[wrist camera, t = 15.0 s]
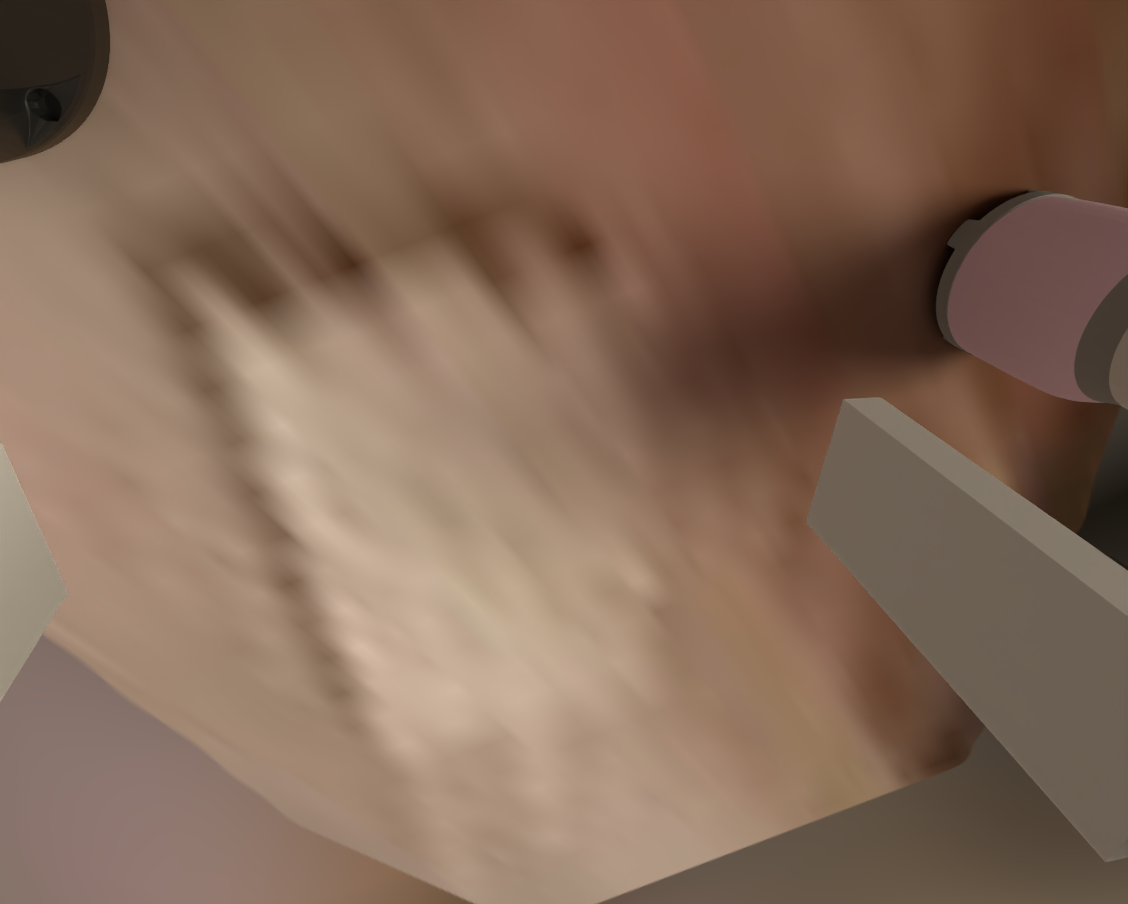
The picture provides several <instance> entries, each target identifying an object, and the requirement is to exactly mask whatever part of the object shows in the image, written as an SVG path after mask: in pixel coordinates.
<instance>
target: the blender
mask: <svg viewBox="0 0 1128 904" xmlns="http://www.w3.org/2000/svg"><path fill="white" fill-rule="evenodd" d="M947 245H948V246H950V247H952V248H954V249H955V250H954V252H953V254H952V256H951V257H950V259H949V261H948V263H947V265H946V267H945V270H944V272H943V274H942V277H941V280H940V283H939V287H938V292H937V297H936V316H937V321H938V325H939V328H940V330H941V332H942V334H943V335H944V336H943V338H944V339H945V340H946V341H948V342H949V343H951V344H952V345H954V346H955V347H957V348H959V349H961V350H963V351H965V352H967V353H969V354H971V355H974V356H976V357H978V358H980V359H981V360H983V361H985V362H987V363H989V364H991V365H993V366H994V367H996V368H998V369H1000V370H1002V371H1004V372H1006V373H1008V374H1010V375H1012V376H1014V377H1015V378H1017V379H1019V380H1021V381H1023V382H1025V383H1027V384H1029V385H1031V386H1033V387H1035V388H1037V389H1039V390H1042V391H1044V392H1046V393H1048V394H1051V395H1053V396H1057V397H1061V398H1065V399H1069V400H1074V401H1081V402H1106V403H1112V404H1117V405H1120V406H1123V407H1124V408H1126V409H1128V208H1123V207H1118V206H1113V205H1107V204H1102V203H1096V202H1091V201H1086V200H1080V199H1077V198H1075V197H1072V196H1069V195H1064V194H1059V193H1054V192H1048V191H1036V190H1030V191H1028V193H1026V194H1023V195H1020V196H1017V197H1015V198H1013V199H1010V200H1008V201H1006V202H1005V203H1003V204H1001V205H999V206H998V207H996V208H995V209H993V210H992V211H991V212H989V213H988V214H987V215H986V216H984V217H983V218H982V219H981V220H970V219H968V220H966V221H965V222H964V223H963V224H962V225H961V226H960V227H959V228H958V229H957V230H956V231H955V232H954V234H953V235H952V236H951V237H950V239H949V241H948V242H947Z"/></svg>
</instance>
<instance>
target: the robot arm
mask: <svg viewBox="0 0 1128 904" xmlns="http://www.w3.org/2000/svg"><path fill="white" fill-rule="evenodd" d="M109 53H110V32H109V21H108V14H107V8H106V3H105V0H0V163H4V162H8V161H12V160H16V159H20V158H24V157H28V156H32V155H35V154H38V153H40V152H43V151H45V150H47V149H50V148H52V147H53V146H55V145H57V144H59V143H60V142H62V141H63V140H65V139H66V138H67V137H69V136H70V135H71V134H72V133H73V132H75V131H76V130H77V129H78V128H79V127H80V126H81V125H82V123H83V122H84V121H85V120H86V118H87V117H88V116H89V114H90V113H91V111H92V110H93V108H94V106H95V105H96V103H97V101H98V98H99V96H100V94H101V91H102V89H103V86H104V83H105V79H106V75H107V70H108V64H109ZM806 522H807V524H808V525H809V526H810V527H811V528H812V529H813V530H814V532H815V533H816V534H817V535H818V536H819V537H820V538H821V539H822V541H823V542H824V543H825V544H826V545H827V546H828V547H829V549H830V550H831V551H832V552H833V553H834V554H835V555H836V556H837V558H838V559H839V560H840V561H841V562H842V563H843V564H844V566H845V567H846V568H847V569H848V570H849V571H850V572H851V574H852V575H853V576H854V577H855V578H856V579H857V580H858V581H859V583H860V584H861V585H862V586H863V587H864V588H865V589H866V591H867V592H868V593H869V594H870V595H871V596H872V597H873V599H874V600H875V601H876V602H877V603H878V604H879V605H880V606H881V608H882V609H883V610H884V611H885V612H886V613H887V614H888V616H889V617H890V618H891V619H892V620H893V621H894V622H895V624H896V625H897V626H898V627H899V628H900V629H901V630H902V631H903V633H904V634H905V635H906V636H907V637H908V638H909V639H910V641H911V642H912V643H913V644H914V645H915V646H916V647H917V649H918V650H919V651H920V652H921V653H922V654H923V655H924V656H925V658H926V659H927V660H928V661H929V662H930V663H931V664H932V666H933V667H934V668H935V669H936V670H937V671H938V672H939V674H940V675H941V676H942V677H943V678H944V679H945V680H946V681H947V683H948V684H949V685H950V686H951V687H952V688H953V689H954V691H955V692H956V693H957V694H958V695H959V696H960V697H961V698H962V700H963V701H964V702H965V703H966V704H967V705H968V706H969V708H970V709H971V710H972V711H973V712H974V713H975V714H976V716H977V717H978V718H979V719H980V720H981V721H982V722H983V723H984V725H985V726H986V727H987V728H988V729H989V730H990V731H991V733H992V734H993V735H994V736H995V737H996V738H997V739H998V740H999V742H1000V743H1001V744H1002V745H1003V746H1004V747H1005V748H1006V750H1007V751H1008V752H1009V753H1010V754H1011V755H1012V756H1013V757H1014V759H1015V760H1016V761H1017V762H1018V763H1019V764H1020V766H1021V767H1022V768H1023V769H1024V770H1025V771H1026V772H1027V773H1028V775H1029V776H1030V777H1031V778H1032V779H1033V780H1034V781H1035V783H1036V784H1037V785H1038V786H1039V787H1040V788H1041V789H1042V790H1043V791H1044V793H1045V794H1046V795H1047V796H1048V797H1049V798H1050V800H1051V801H1052V802H1053V803H1054V804H1055V805H1056V806H1057V808H1058V809H1059V810H1060V811H1061V812H1062V813H1063V814H1064V816H1065V817H1066V818H1067V819H1068V820H1069V821H1070V822H1071V823H1072V824H1073V826H1074V827H1075V828H1076V829H1077V830H1078V831H1079V833H1080V834H1081V835H1082V836H1083V837H1084V838H1085V839H1086V840H1087V842H1088V843H1089V844H1090V845H1091V846H1092V847H1093V848H1094V849H1095V851H1096V852H1097V853H1098V854H1099V855H1100V856H1101V857H1102V859H1103V860H1104V861H1105V862H1109V861H1113V860H1117V859H1121V858H1125V857H1128V566H1126V565H1125V564H1123V563H1122V562H1121V561H1119V560H1118V559H1116V558H1115V557H1113V556H1111V555H1109V554H1107V553H1105V552H1103V551H1101V550H1098V549H1097V548H1095V547H1093V546H1092V545H1090V544H1089V543H1088V542H1086V541H1085V540H1083V539H1082V538H1080V537H1079V536H1078V535H1076V534H1075V533H1073V532H1072V531H1071V530H1069V529H1068V528H1066V527H1065V526H1063V525H1062V524H1061V523H1059V522H1058V521H1056V520H1055V519H1053V518H1052V517H1051V516H1049V515H1048V514H1046V513H1045V512H1043V511H1042V510H1041V509H1039V508H1038V507H1036V506H1035V505H1033V504H1032V503H1031V502H1029V501H1028V500H1026V499H1025V498H1023V497H1022V496H1021V495H1019V494H1018V493H1016V492H1015V491H1013V490H1012V489H1011V488H1009V487H1008V486H1006V485H1005V484H1003V483H1002V482H1001V481H999V480H998V479H996V478H995V477H993V476H992V475H991V474H989V473H988V472H986V471H985V470H983V469H982V468H981V467H979V466H978V465H976V464H975V463H974V462H972V461H971V460H969V459H968V458H966V457H965V456H964V455H962V454H961V453H959V452H958V451H956V450H955V449H954V448H952V447H951V446H949V445H948V444H946V443H945V442H944V441H942V440H941V439H939V438H938V437H936V436H935V435H934V434H932V433H931V432H929V431H928V430H926V429H925V428H924V427H922V426H921V425H919V424H918V423H916V422H915V421H914V420H912V419H911V418H909V417H908V416H906V415H905V414H904V413H902V412H901V411H899V410H898V409H896V408H895V407H894V406H892V405H891V404H889V403H888V402H887V401H885V400H884V399H882V398H881V397H875V398H856V399H843V402H842V406H841V409H840V412H839V415H838V419H837V422H836V425H835V429H834V432H833V435H832V438H831V442H830V445H829V448H828V452H827V455H826V458H825V461H824V465H823V468H822V471H821V475H820V478H819V481H818V484H817V488H816V491H815V494H814V498H813V501H812V504H811V507H810V511H809V514H808V517H807V521H806ZM67 594H68V590H67V588H66V586H65V583H64V581H63V579H62V577H61V574H60V572H59V570H58V568H57V565H56V563H55V561H54V559H53V557H52V554H51V552H50V550H49V548H48V545H47V543H46V541H45V539H44V536H43V534H42V532H41V530H40V527H39V525H38V523H37V521H36V519H35V516H34V514H33V512H32V510H31V507H30V505H29V503H28V501H27V498H26V496H25V494H24V492H23V489H22V487H21V485H20V483H19V481H18V478H17V476H16V474H15V472H14V469H13V467H12V465H11V463H10V460H9V458H8V456H7V454H6V451H5V449H4V447H3V445H2V443H1V442H0V701H1V700H2V698H3V697H4V695H5V693H6V692H7V690H8V689H9V687H10V685H11V684H12V682H13V681H14V679H15V677H16V676H17V674H18V673H19V671H20V669H21V668H22V666H23V665H24V663H25V661H26V660H27V658H28V656H29V655H30V653H31V652H32V650H33V648H34V647H35V645H36V643H37V642H38V640H39V639H40V637H41V636H42V634H43V632H44V631H45V629H46V628H47V626H48V624H49V623H50V621H51V620H52V618H53V616H54V615H55V613H56V611H57V610H58V608H59V607H60V605H61V603H62V602H63V600H64V599H65V597H66V595H67Z"/></svg>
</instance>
